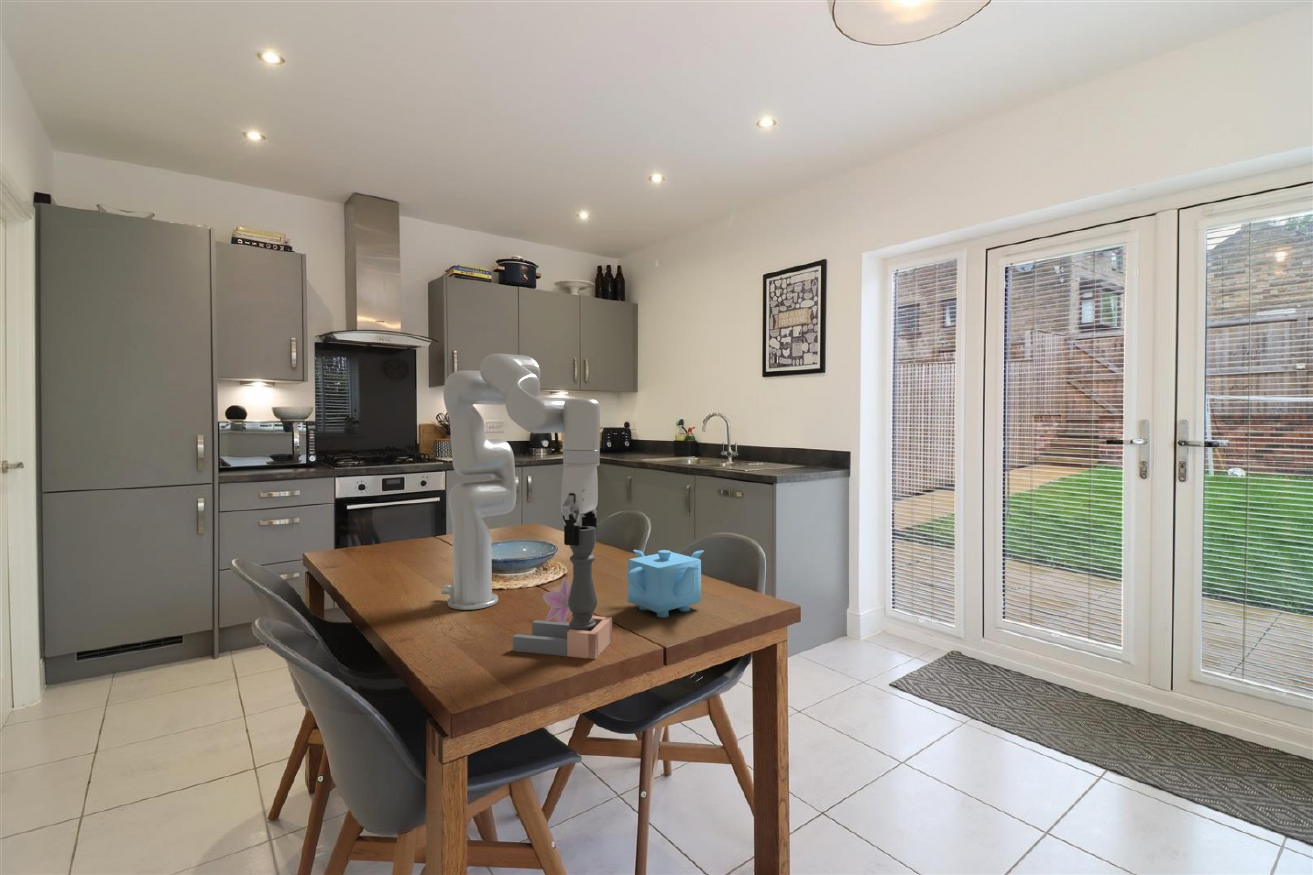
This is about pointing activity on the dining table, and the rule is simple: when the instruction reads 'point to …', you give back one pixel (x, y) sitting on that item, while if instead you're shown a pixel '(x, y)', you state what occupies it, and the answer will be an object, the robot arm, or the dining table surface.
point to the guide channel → (565, 639)
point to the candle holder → (583, 582)
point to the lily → (558, 602)
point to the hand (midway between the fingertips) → (580, 540)
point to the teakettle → (664, 581)
